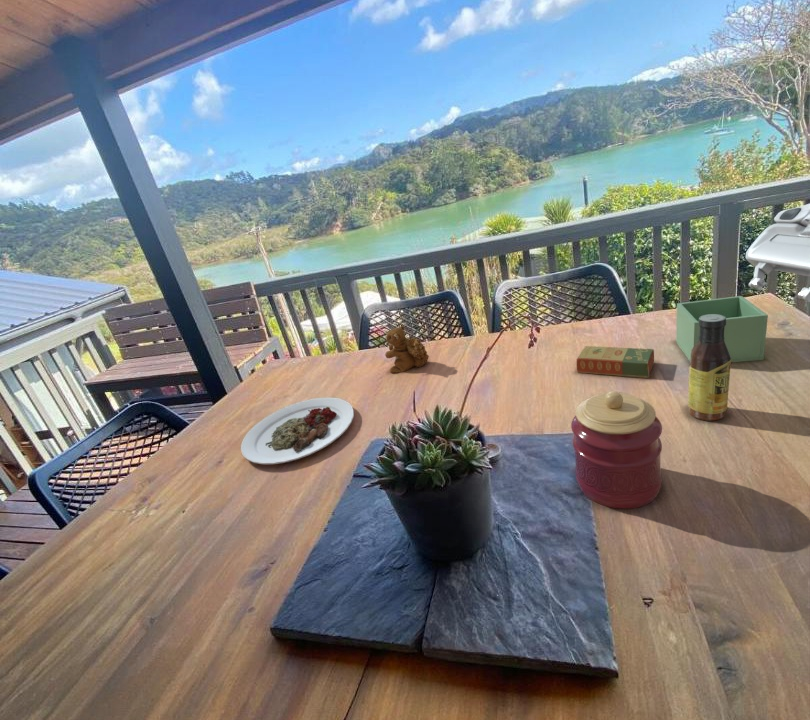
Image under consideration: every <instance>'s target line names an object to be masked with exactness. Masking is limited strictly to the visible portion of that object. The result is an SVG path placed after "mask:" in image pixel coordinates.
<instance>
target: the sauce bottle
mask: <svg viewBox="0 0 810 720" xmlns="http://www.w3.org/2000/svg"><path fill="white" fill-rule="evenodd" d="M725 325H726V317H725V316H722V315H718V314H708V315H703V316H701V317H699V327H700V328H699V337H698V339H699V341H698V342H697V344H696V345H694V347H693V349H692V350H691V362H690V363H689V373H688V390H687V391H688V393H687V394H688V395H687V406H688V412H689V415H690V416H692V417H694V418H695V419H698V420H702V421H705V422H710V421H717V420H721V419H723V418H724V417H725V416H726V413H727V409H728V402H729V392H730V391H729V389H730V379H731V378H730V377H731V363H732V362H731V357H730V354H729V352H728V349H727V347H726V344H725V341H724V327H725Z"/></svg>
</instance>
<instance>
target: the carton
mask: <svg viewBox="0 0 810 720" xmlns="http://www.w3.org/2000/svg"><path fill="white" fill-rule="evenodd" d="M654 365H655V350H654V349H653V348H639V347H638V348H637V347H613V346H596V345H595V346H594V345H593V346H592V345H586V346H584V347H583V348H582V350H581V351H580V353H579V355H578V356H577V358H576V372H577V373H580V374H581V373H582V374H593V375H594V374H595V375H607V376H616V377H628V378H639V379H649V378H650V376H651V372H652V369H653V367H654Z"/></svg>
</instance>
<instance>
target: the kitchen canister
mask: <svg viewBox="0 0 810 720" xmlns="http://www.w3.org/2000/svg"><path fill="white" fill-rule="evenodd" d="M570 424H571V425H570V427H571V431H572V433H573V438H572V447H573V449H574V460H575V461H574V462H575V467H574V468H575V469H574V473H575V479H576V482H577V484H578V488H579V489H580V491H581V492H582V493H583V494H584V495H585V496H586V497H587V498H588V499H590V500H591V501H594V502H595V503H597V504H599V505H601V506H604V507H609V508H613V509H621V510H624V509H626V510H628V509H635V508H640V507H644V506H646V505H648V504H650V503H652V502H653V501H654V500H655V499H656V498H657V497H658V496H659V494H660V490H661V487H662V482H663V480H662V476H663V475H662V472H661V453H662V450H663V444H662V441H661V438H660V437H661V435H662V432H663V425H662V423H661V421H660V419H659V418H658V417H657V414H656V410H655V408H654V407H653V406H652V405H651V404H650V403H649V402H648V401H646V400H644V399H643V398H639V397H637V396H635V395H633V394H629V393H625V392H618V391H613V390H612V391H608V392H603V393H598V394H595V395H593V396H591V397H589V398H587V399H585V400H583V401H581V402H580V403H579V404H578V405H577V407H576V409H575V414H574V416H573V418H572V420H571V423H570Z"/></svg>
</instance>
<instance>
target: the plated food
mask: <svg viewBox="0 0 810 720" xmlns="http://www.w3.org/2000/svg"><path fill="white" fill-rule="evenodd" d="M354 417H355V410H354V409H353V406H352V404H351V403H350V402H348V401H347V400H345V399H343V398H338V397H316V398H310V399H305V400H302V401H298V402H295V403H292V404H288V405H287V406H284V407H282V408H280V409H278V410H276V411H274V412H272V413H270V414H268V415H266V417H265V418H263V419H261V420H260V421H258V422H257V423H256V424H255V425H254V426H253V427H251V428H250V429H249V431H247V433H246V434H245V435H244V437H243V439H242V442H241V443H240V444H241V445H240V451H241V455H242V456H243V457H244V459H246V460H247V461H249V462H251V463H252V464H259V465H278V464H284V463H290V462H293V461H297V460H300V459H302V458H305V457H307V456H310V455H313V454H315V453H316V452H318V451H321V450H322V449H324V448H325V447H327V446H329V445H331V444H332V443H333V442H335V441H336V440H337V439H339V438H340V437H341V436H342V435H343V434H345V432H346V431H347V430H348V428H349V427H350V426H351V424H352V422H353V420H354Z"/></svg>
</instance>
